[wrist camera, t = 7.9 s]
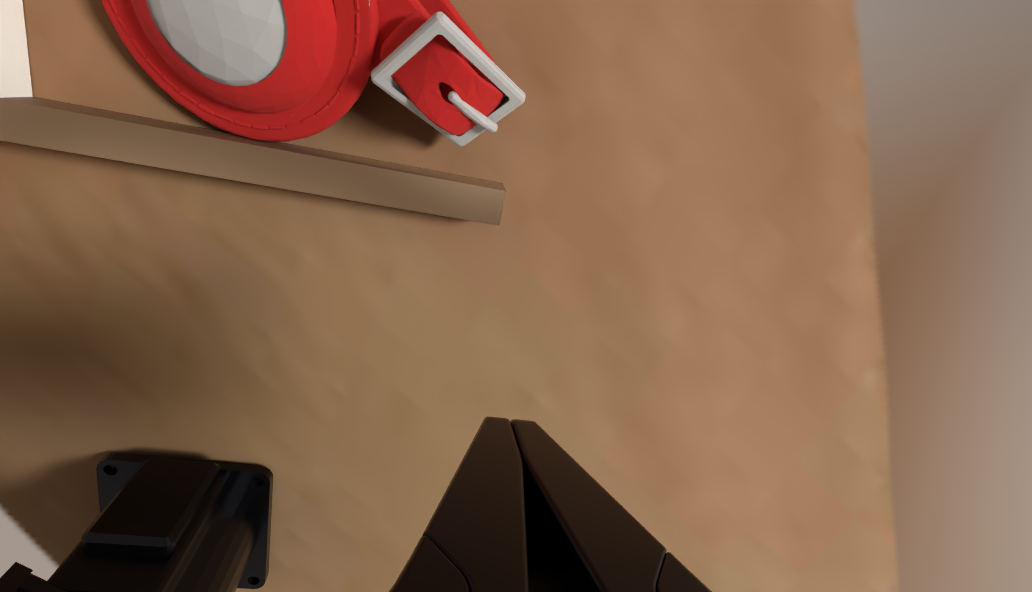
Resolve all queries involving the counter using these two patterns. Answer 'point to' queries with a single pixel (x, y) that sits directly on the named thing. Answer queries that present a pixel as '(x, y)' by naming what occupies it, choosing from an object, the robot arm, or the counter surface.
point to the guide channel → (222, 148)
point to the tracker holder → (315, 62)
